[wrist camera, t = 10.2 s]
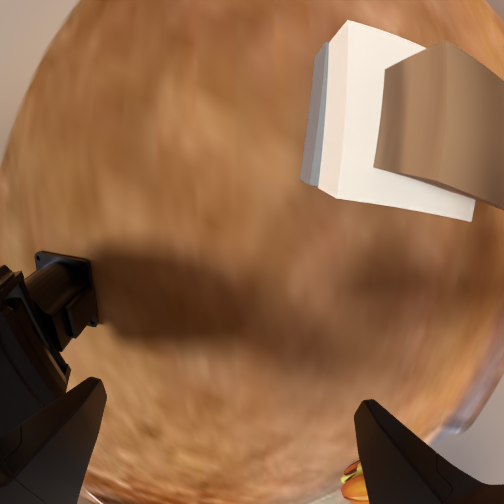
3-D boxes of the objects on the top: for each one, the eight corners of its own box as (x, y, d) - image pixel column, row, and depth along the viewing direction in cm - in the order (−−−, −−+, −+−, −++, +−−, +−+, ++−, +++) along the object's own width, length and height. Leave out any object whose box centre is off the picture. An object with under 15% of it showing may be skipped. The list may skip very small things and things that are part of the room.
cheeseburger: (360, 478, 36) (362, 517, 26) (326, 462, 36) (325, 506, 26) (404, 454, 33) (413, 495, 24) (374, 436, 33) (382, 483, 24)
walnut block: (373, 167, 11) (437, 181, 7) (384, 69, 10) (445, 39, 5) (449, 191, 12) (516, 215, 7) (460, 105, 10) (526, 101, 5)
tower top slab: (318, 188, 15) (336, 198, 12) (329, 43, 12) (347, 19, 9) (439, 208, 15) (471, 221, 12) (449, 84, 12) (481, 78, 9)
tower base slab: (298, 178, 18) (309, 184, 15) (313, 58, 15) (326, 41, 12) (408, 200, 19) (433, 210, 15) (421, 93, 16) (447, 87, 12)
